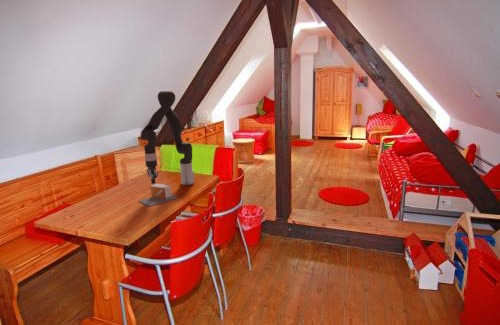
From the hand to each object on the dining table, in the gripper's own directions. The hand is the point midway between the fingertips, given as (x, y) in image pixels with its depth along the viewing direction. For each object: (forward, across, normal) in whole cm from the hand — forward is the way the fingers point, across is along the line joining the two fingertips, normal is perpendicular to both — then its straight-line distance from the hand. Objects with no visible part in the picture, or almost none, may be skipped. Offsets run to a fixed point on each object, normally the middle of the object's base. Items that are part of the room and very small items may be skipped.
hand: (153, 183), depth 212 cm
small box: (+6, +4, -1) cm, 7 cm away
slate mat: (+10, -6, 0) cm, 12 cm away
